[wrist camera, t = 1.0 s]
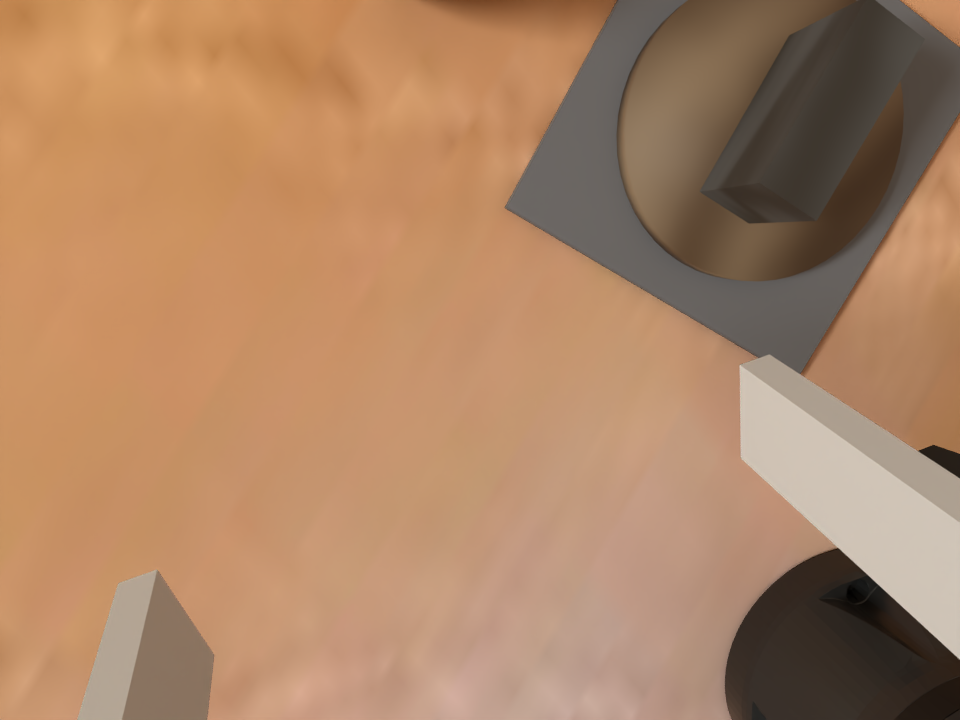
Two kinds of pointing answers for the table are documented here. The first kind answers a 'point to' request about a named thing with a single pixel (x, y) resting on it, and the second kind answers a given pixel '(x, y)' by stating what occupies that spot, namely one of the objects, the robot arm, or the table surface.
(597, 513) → the table surface
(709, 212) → the lid
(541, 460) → the table surface
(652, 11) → the mat
